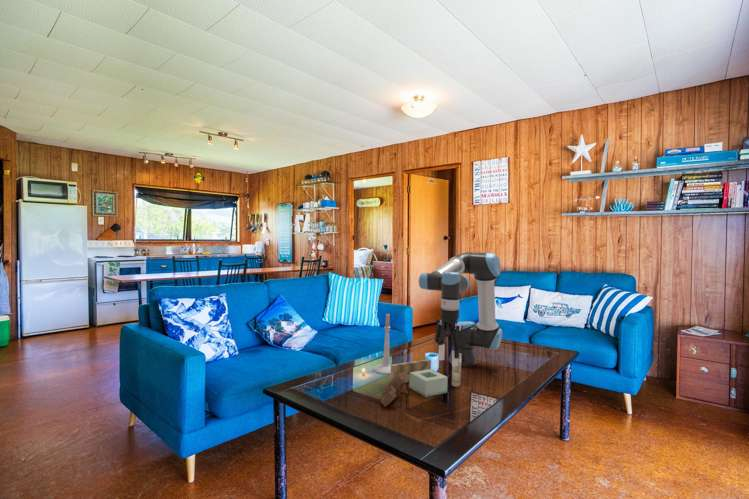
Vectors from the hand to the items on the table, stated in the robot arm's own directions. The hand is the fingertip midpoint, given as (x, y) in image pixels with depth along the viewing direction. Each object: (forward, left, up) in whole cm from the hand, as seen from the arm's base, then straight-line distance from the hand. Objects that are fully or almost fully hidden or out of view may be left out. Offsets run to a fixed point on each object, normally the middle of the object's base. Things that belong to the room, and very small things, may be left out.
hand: (447, 362), depth 165 cm
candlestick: (+1, -47, -18) cm, 50 cm away
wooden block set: (+19, -14, -17) cm, 29 cm away
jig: (0, -17, -17) cm, 24 cm away
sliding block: (0, -13, -16) cm, 20 cm away
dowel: (-16, -12, -17) cm, 26 cm away
